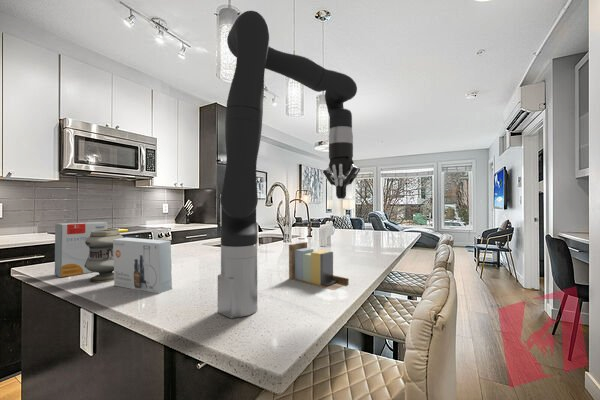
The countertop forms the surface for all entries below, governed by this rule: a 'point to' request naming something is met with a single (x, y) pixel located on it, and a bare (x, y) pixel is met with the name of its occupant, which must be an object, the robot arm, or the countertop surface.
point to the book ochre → (316, 266)
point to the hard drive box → (73, 247)
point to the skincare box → (142, 264)
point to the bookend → (326, 269)
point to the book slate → (300, 262)
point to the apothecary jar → (102, 254)
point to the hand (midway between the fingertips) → (341, 198)
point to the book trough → (340, 281)
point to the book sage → (307, 267)
